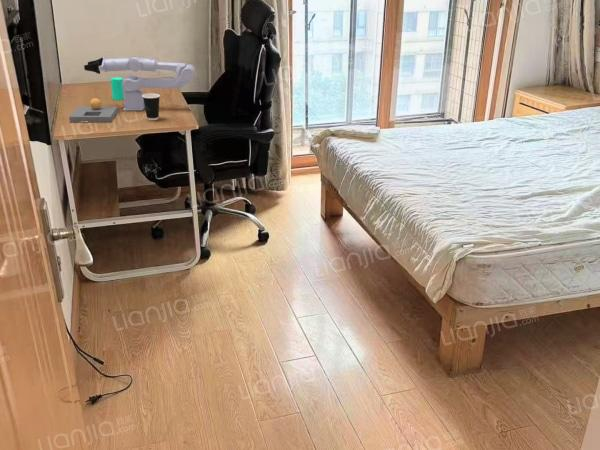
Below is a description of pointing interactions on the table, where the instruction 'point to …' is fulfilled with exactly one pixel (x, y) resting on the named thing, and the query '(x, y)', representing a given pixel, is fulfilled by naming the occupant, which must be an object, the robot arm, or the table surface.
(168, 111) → the table surface
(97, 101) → the ball
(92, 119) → the plate
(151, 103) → the dixie cup
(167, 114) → the table surface
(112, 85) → the candle
